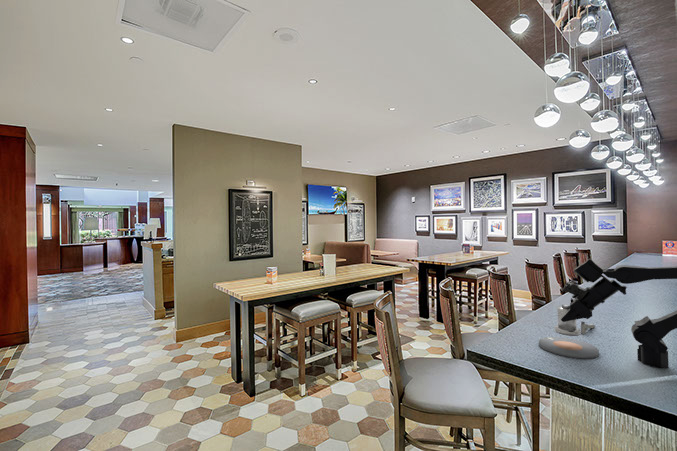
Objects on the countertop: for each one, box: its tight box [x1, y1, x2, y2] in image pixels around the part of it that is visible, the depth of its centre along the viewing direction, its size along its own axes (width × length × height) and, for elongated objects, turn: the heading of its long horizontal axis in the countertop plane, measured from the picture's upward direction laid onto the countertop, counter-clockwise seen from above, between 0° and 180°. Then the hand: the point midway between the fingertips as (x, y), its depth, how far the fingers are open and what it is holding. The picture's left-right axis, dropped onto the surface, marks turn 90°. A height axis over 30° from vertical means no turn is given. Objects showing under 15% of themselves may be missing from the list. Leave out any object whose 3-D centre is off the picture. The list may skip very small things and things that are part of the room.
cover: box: [554, 304, 581, 337], centre depth 116 cm, size 8×8×10 cm
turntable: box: [538, 336, 600, 359], centre depth 116 cm, size 18×18×1 cm
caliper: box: [580, 321, 596, 335], centre depth 138 cm, size 20×1×6 cm, turn 130°
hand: (562, 318), depth 117 cm, fingers closed on cover, 6 cm apart
